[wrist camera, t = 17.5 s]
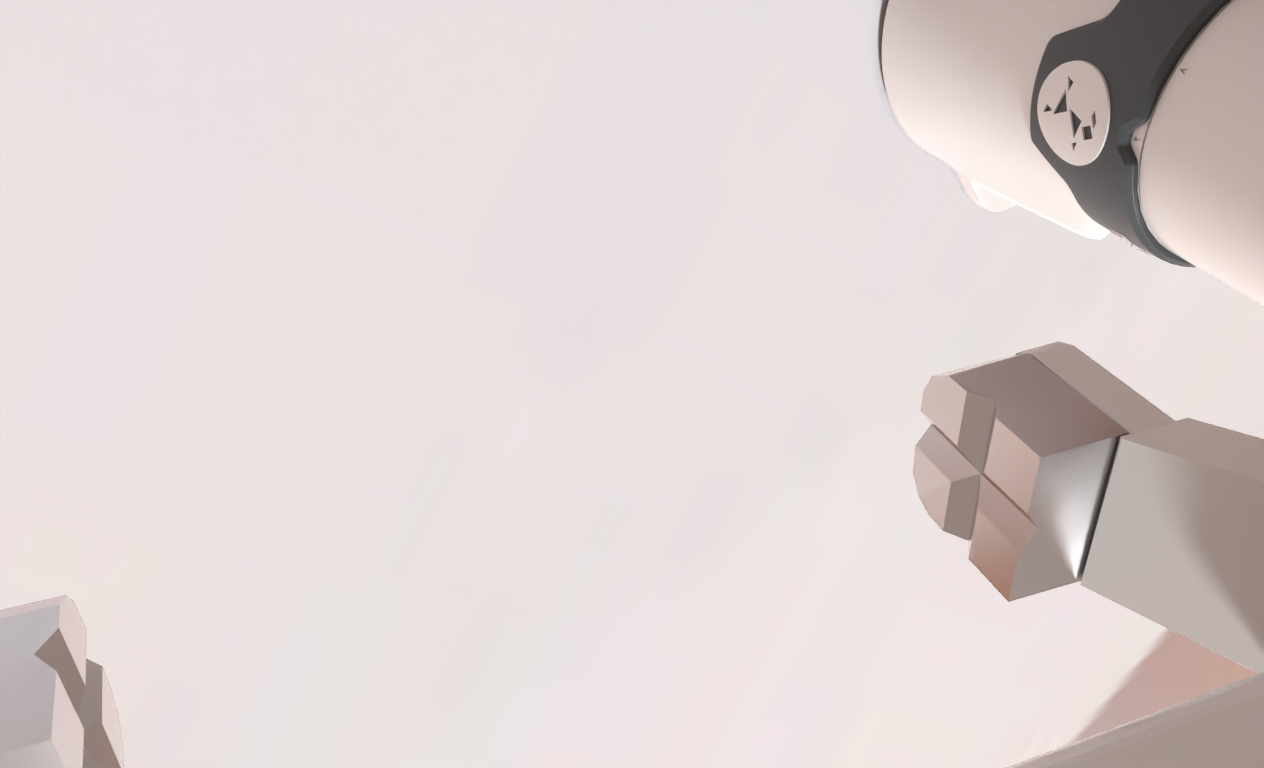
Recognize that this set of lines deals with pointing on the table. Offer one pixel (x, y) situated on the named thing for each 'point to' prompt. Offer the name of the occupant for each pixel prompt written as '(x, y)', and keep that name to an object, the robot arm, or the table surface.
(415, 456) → the table surface
